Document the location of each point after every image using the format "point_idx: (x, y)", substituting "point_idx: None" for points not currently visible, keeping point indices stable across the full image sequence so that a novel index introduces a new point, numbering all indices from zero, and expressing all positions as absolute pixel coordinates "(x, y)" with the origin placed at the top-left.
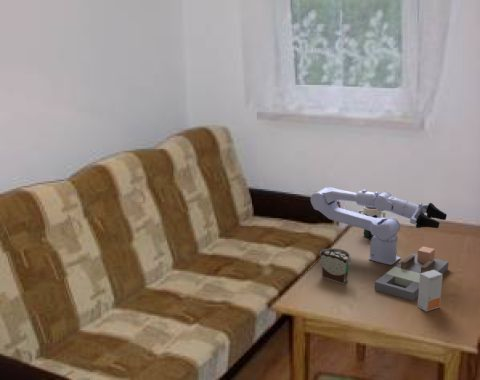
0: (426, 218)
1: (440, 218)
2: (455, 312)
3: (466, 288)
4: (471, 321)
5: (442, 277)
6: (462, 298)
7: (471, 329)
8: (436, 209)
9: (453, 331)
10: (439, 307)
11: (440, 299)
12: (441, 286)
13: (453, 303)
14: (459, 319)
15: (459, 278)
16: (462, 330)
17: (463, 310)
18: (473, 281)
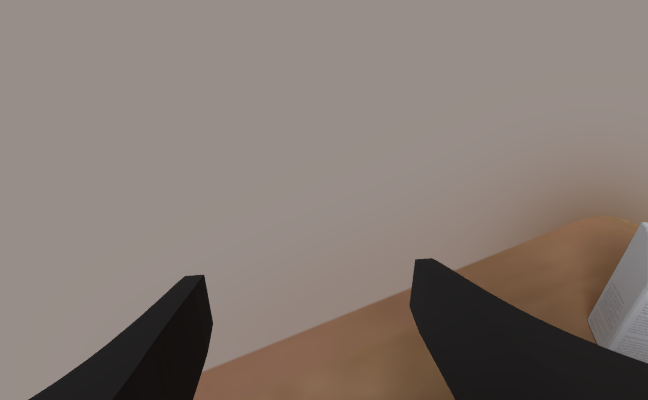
0: (572, 338)
1: (199, 368)
2: (551, 280)
3: (398, 319)
4: (539, 244)
5: (636, 232)
6: None
7: (566, 233)
8: (127, 365)
9: (622, 249)
10: (589, 319)
11: (599, 298)
12: (621, 262)
13: (518, 304)
14: (565, 262)
15: (343, 370)
16: (593, 241)
17: (519, 273)
18: (334, 324)
